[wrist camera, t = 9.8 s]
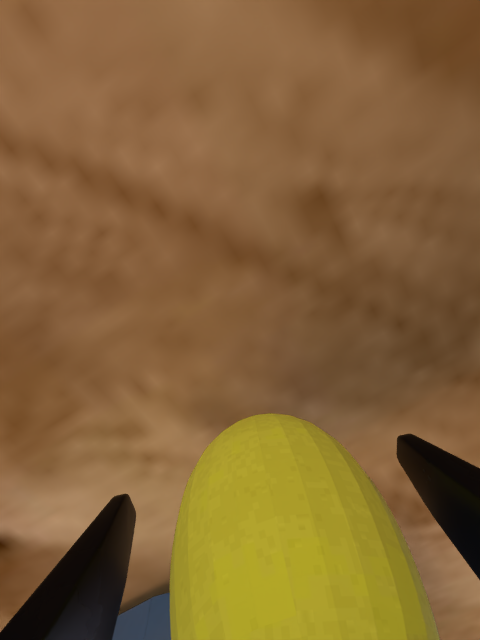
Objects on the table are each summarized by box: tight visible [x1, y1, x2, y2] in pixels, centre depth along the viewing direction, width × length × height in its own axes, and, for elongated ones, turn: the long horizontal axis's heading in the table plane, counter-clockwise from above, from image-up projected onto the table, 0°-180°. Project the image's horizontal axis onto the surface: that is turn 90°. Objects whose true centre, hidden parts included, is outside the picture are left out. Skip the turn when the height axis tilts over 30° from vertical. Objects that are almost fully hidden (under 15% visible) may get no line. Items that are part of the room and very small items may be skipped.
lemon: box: [170, 413, 440, 640], centre depth 6 cm, size 6×6×8 cm
